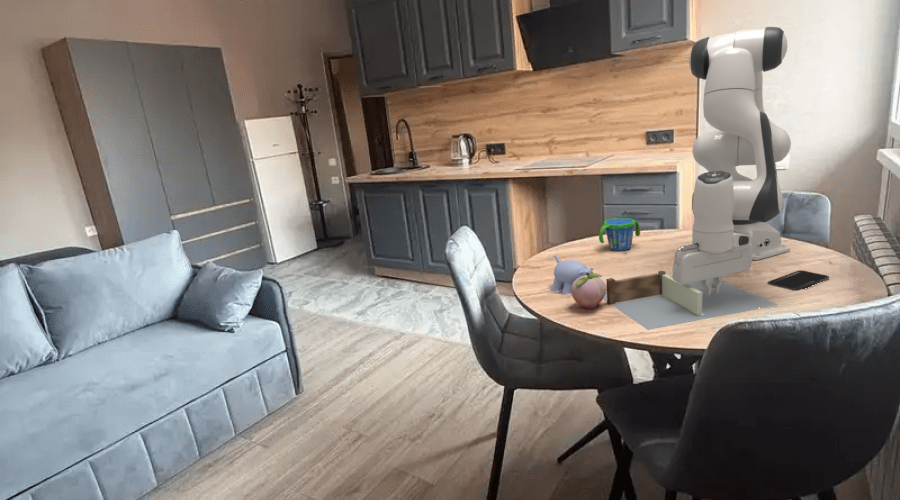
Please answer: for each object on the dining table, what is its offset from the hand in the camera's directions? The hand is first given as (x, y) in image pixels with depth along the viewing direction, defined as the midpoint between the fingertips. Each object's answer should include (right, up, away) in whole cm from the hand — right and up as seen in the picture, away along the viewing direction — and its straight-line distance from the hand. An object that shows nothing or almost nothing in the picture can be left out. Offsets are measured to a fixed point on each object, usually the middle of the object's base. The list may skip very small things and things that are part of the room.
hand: (711, 293), depth 123 cm
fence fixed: (-15, -2, +8) cm, 18 cm away
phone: (+27, +2, +8) cm, 29 cm away
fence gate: (-7, -3, +1) cm, 8 cm away
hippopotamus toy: (-29, -1, +20) cm, 35 cm away
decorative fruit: (-29, -5, +7) cm, 30 cm away
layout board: (-5, -2, +5) cm, 8 cm away
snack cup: (-4, +11, +55) cm, 57 cm away
